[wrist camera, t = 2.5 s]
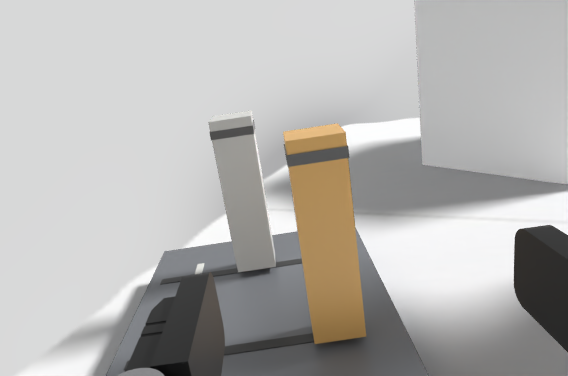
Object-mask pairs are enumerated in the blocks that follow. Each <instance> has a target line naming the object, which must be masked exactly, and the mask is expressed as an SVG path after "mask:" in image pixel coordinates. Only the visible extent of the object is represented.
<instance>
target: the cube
mask: <svg viewBox="0 0 568 376" xmlns="http://www.w3.org/2000/svg"><path fill="white" fill-rule="evenodd" d="M414 2H415V3H414V4H415V25H416V45H417V67H418V87H419V108H420V129H421V149H422V165H427V166H435V167H442V168H449V169H457V170H464V171H471V172H478V173H486V174H493V175H500V176H508V177H515V178H522V179H529V180H537V181H544V182H551V183H558V184H566V185H568V0H414Z"/></svg>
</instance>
